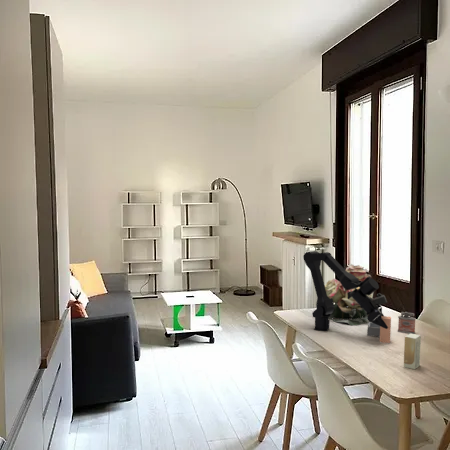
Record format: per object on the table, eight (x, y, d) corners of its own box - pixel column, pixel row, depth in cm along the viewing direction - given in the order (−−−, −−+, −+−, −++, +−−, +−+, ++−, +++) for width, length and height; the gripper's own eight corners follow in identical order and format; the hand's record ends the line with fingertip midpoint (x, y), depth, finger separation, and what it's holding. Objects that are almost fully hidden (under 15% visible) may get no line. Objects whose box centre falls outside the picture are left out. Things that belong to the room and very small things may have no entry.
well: (367, 335, 237) (367, 327, 236) (368, 330, 246) (368, 322, 246) (389, 337, 234) (389, 329, 233) (389, 332, 243) (389, 324, 243)
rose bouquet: (313, 316, 273) (315, 262, 271) (355, 312, 285) (357, 260, 284) (343, 328, 250) (345, 268, 248) (388, 322, 262) (390, 266, 261)
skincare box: (408, 363, 197) (410, 332, 196) (420, 365, 194) (421, 334, 194) (402, 367, 192) (404, 336, 191) (414, 369, 189) (415, 338, 189)
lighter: (397, 332, 244) (398, 311, 243) (398, 330, 247) (399, 310, 246) (414, 334, 240) (415, 314, 240) (415, 332, 243) (416, 312, 243)
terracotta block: (379, 341, 226) (380, 318, 226) (379, 339, 230) (380, 315, 230) (390, 342, 225) (390, 318, 224) (389, 340, 229) (390, 316, 228)
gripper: (376, 292, 219) (401, 319, 216) (376, 285, 236) (400, 310, 234) (357, 308, 222) (382, 335, 219) (359, 300, 239) (382, 325, 236)
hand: (387, 325), depth 227 cm, fingers open, 9 cm apart
